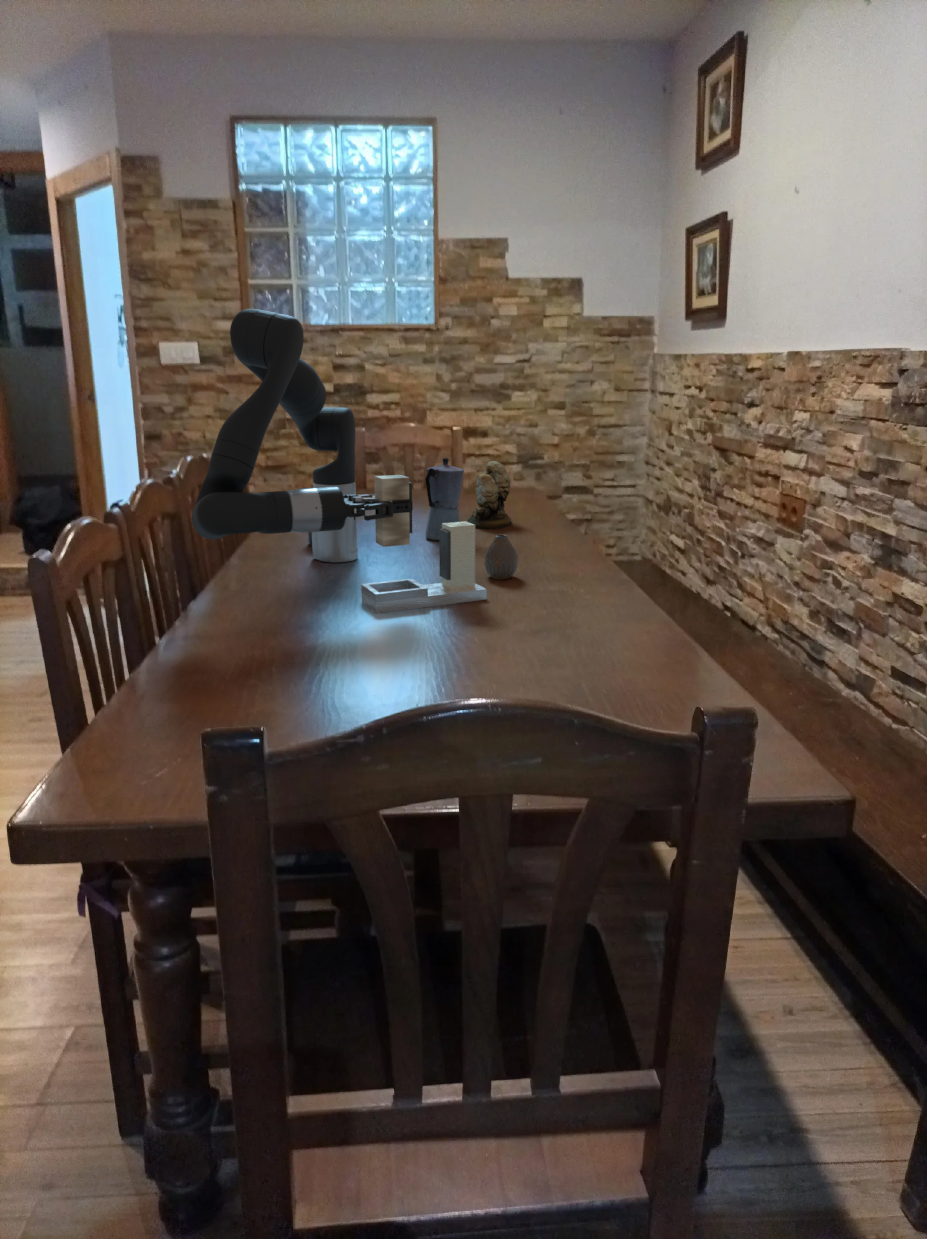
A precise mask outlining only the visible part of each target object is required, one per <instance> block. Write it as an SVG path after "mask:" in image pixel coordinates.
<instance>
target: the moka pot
mask: <svg viewBox="0 0 927 1239" xmlns="http://www.w3.org/2000/svg"><path fill="white" fill-rule="evenodd" d="M449 460H450V459H449V458H448V457H444V458H442V464H441V465H435V466H434V465H433V466H432V467H427V468H426V475H425V479H424V480H425V485H426V486H425V487H426V493H427V498H428V506H429V512H428V516H427V524H426V529H425V534H424V535H425V538H426V539H430V540H433V541H439V529H442V523H452V522H460V514H459V513H460V511H459V509H458V508H459V501H460V499H461V493H462V485H463V479H464V478H463V477H464V474H465V473H464V472H465V470H464V469H463V468H460V467H457V466H454V465H449Z"/></svg>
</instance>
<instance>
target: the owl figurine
mask: <svg viewBox="0 0 927 1239" xmlns="http://www.w3.org/2000/svg"><path fill="white" fill-rule="evenodd" d="M507 472H508V471H507V469H506V468H505V465H503V464H502V463H501V462H499V461H497V460H491V461H489V462H488V463H487V464H486V466H485V471H484V473H480V474H479V475H478V476H477V480H476V488H475V489H474V490H475V493H476V503H477V506H476V508H475V510H474V511H472V514H471V516H470V517H469V518H468V519H467V520H466V521H467V522H469V523H472V524H474V525H475V529H481V530H482V529H483V530H496V529H502V528H506V527H509V526H510V525H511V524H512V518H511V517H510V516H509V515H508V513H507V512H506V510H505V503H504V502H506V501H507V498H508V496H509V495H510V494H509V493H510V491H511V490H510V488H511V482H512V481H511V477H510V475H508V473H507Z"/></svg>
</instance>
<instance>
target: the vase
mask: <svg viewBox="0 0 927 1239" xmlns="http://www.w3.org/2000/svg"><path fill="white" fill-rule="evenodd" d="M518 563H519V557H518V552H517V549H516V548H515V546H514V545H513V543H512V542H511V541H510V538H509V537H508V535H506V534H496V535H495V537H494V539H493V540H492V541H491V543H490V545H488V547H487V549H486V551H485V554H484V567H485V571H486V573H487V574H488V575H489V576H490V578H492V579H495V580H508V579H511V578H512V577H513V576H514V574H516V571H517V569H518V565H519V564H518Z"/></svg>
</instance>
